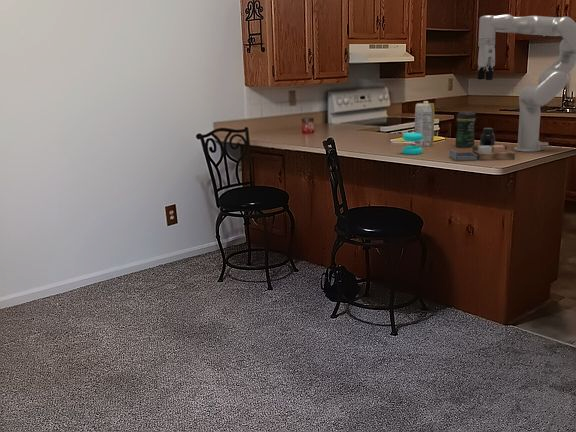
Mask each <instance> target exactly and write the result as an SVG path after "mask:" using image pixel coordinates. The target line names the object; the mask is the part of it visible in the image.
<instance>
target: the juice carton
mask: <svg viewBox="0 0 576 432" xmlns="http://www.w3.org/2000/svg"><path fill="white" fill-rule="evenodd" d="M414 110H415V112H414V133H420V134H422V135H423V138H422V139H421V140H420V141H414V146H419V147H430V146H433V144H434V138H435V137H434V136H435V103H431V102H430V103H429V101H428V100H423V102H418V103H416V104H415V109H414Z"/></svg>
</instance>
